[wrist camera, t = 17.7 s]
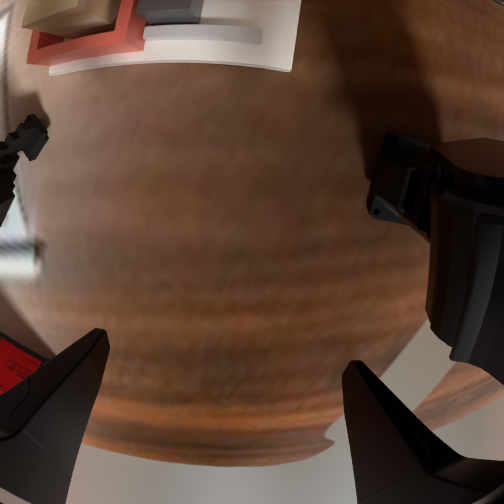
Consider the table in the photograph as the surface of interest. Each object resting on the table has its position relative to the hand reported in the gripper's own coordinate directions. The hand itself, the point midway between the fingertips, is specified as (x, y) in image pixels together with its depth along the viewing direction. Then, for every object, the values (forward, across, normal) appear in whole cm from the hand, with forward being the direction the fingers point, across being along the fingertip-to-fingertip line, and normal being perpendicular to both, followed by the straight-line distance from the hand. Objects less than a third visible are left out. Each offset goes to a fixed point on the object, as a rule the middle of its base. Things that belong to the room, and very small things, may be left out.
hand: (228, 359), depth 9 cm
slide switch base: (+12, +7, -15) cm, 21 cm away
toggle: (+11, +6, -15) cm, 20 cm away
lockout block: (+11, +12, -15) cm, 22 cm away
